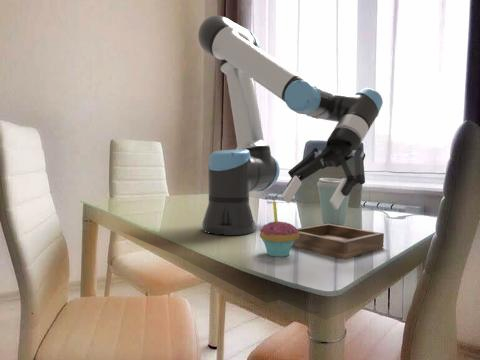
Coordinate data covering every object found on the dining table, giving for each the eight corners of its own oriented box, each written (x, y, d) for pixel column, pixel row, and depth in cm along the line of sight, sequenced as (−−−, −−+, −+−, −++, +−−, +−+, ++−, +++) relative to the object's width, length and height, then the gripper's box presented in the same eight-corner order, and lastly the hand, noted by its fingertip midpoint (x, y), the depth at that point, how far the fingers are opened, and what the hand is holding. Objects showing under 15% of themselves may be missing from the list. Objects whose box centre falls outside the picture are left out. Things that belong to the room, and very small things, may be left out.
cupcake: (251, 252, 78) (252, 198, 78) (280, 247, 83) (281, 196, 83) (277, 261, 71) (278, 202, 71) (307, 255, 76) (308, 200, 76)
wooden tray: (287, 244, 86) (287, 230, 86) (327, 236, 96) (327, 223, 96) (343, 259, 74) (344, 242, 74) (383, 248, 84) (383, 233, 84)
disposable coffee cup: (356, 226, 113) (358, 179, 112) (339, 230, 105) (340, 179, 105) (327, 221, 120) (328, 177, 120) (309, 225, 113) (310, 178, 112)
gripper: (401, 146, 81) (364, 219, 72) (313, 149, 100) (276, 206, 91) (390, 122, 77) (350, 195, 68) (301, 129, 96) (261, 187, 87)
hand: (308, 202), depth 80 cm, fingers open, 13 cm apart
